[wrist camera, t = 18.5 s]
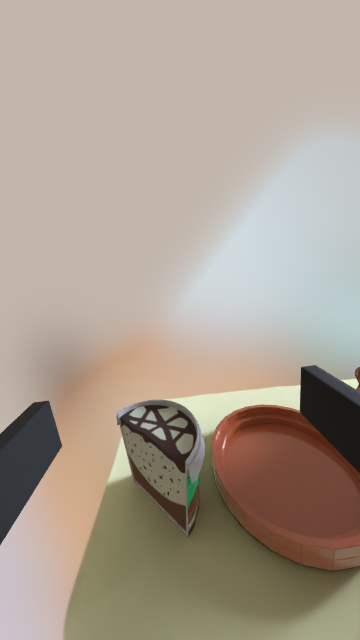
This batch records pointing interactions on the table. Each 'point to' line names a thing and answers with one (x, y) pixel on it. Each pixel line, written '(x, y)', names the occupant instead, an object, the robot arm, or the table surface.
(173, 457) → the food container
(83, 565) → the table surface
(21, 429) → the robot arm
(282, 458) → the terracotta plant saucer
